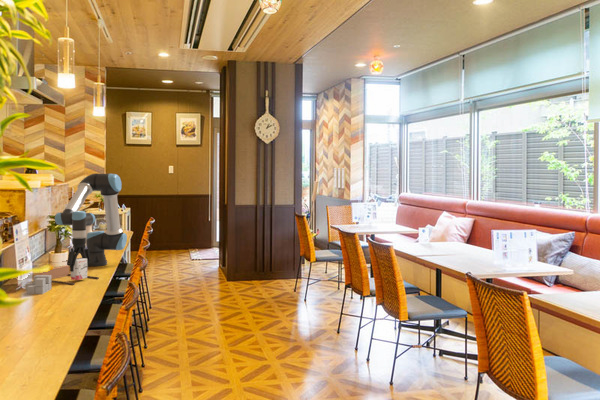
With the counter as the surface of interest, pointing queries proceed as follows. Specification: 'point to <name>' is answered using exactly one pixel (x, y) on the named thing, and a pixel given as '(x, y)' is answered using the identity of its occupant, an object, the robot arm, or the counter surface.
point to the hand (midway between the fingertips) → (79, 275)
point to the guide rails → (72, 283)
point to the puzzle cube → (39, 284)
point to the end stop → (57, 272)
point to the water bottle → (88, 229)
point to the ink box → (80, 269)
